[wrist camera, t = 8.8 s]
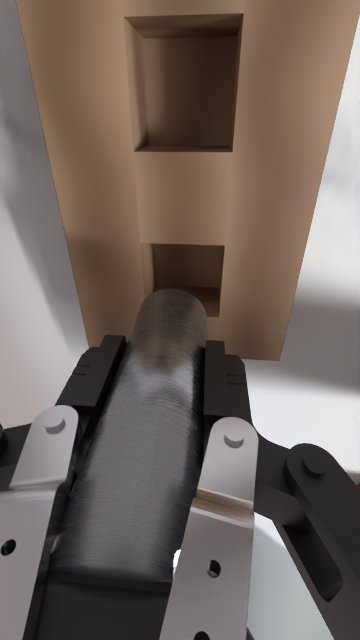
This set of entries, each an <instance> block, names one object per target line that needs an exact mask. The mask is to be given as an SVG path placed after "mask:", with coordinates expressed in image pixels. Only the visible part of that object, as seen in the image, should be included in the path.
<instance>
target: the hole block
mask: <svg viewBox="0 0 360 640" xmlns="http://www.w3.org/2000/svg"><path fill="white" fill-rule="evenodd" d="M16 4H17V9H18V14H19V18H20V23H21V28H22V33H23V37H24V42H25V47H26V52H27V56H28V61H29V66H30V70H31V75H32V80H33V85H34V89H35V94H36V99H37V104H38V108H39V113H40V118H41V123H42V127H43V132H44V137H45V141H46V146H47V151H48V156H49V160H50V165H51V170H52V175H53V179H54V184H55V189H56V194H57V198H58V203H59V208H60V212H61V217H62V222H63V227H64V231H65V236H66V241H67V246H68V250H69V255H70V260H71V264H72V269H73V274H74V279H75V283H76V288H77V293H78V298H79V302H80V307H81V312H82V317H83V321H84V326H85V331H86V335H87V340H88V345H89V349H90V348H91V347H100V345H101V342H102V340H103V338H104V336H105V335H124V336H125V337H126V341H127V342H128V339H129V336H130V334H131V331H132V328H133V325H134V323H135V320H136V317H137V315H138V312H139V309H140V307H141V304H142V303H143V301H144V300H145V299H146V298H147V297H148V296H149V295H150V294H152V293H154V292H156V291H158V290H162V289H179V290H183V291H186V292H188V293H190V294H192V295H193V296H195V297H196V298H197V299H198V300H199V301H200V302H201V303H202V305H203V306H204V308H205V311H206V315H207V340H216V341H224V342H225V354H231V355H238V356H239V358H240V359H256V360H272V361H279V360H280V356H281V352H282V347H283V343H284V339H285V334H286V330H287V326H288V321H289V317H290V313H291V308H292V304H293V300H294V295H295V291H296V287H297V282H298V278H299V274H300V269H301V265H302V261H303V257H304V252H305V248H306V244H307V239H308V235H309V231H310V226H311V222H312V218H313V213H314V209H315V205H316V200H317V196H318V192H319V187H320V183H321V179H322V174H323V170H324V166H325V161H326V157H327V153H328V148H329V144H330V140H331V136H332V131H333V127H334V123H335V118H336V114H337V110H338V105H339V101H340V97H341V92H342V88H343V84H344V79H345V75H346V71H347V66H348V62H349V58H350V53H351V49H352V45H353V40H354V36H355V32H356V28H357V23H358V19H359V15H360V0H16Z"/></svg>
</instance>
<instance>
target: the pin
mask: <svg viewBox="0 0 360 640" xmlns="http://www.w3.org/2000/svg"><path fill="white" fill-rule="evenodd" d="M206 340H207V315H206V311H205V308H204V306H203V305H202V303H201V302H200V301H199V300H198V299H197V298H196V297H195V296H193V295H192V294H190V293H188V292H186V291H183V290H179V289H162V290H158V291H156V292H154V293H152V294H150V295H149V296H148V297H147V298H146V299H145V300H144V301H143V303H142V304H141V307H140V309H139V312H138V315H137V317H136V320H135V323H134V325H133V328H132V331H131V334H130V336H129V339H128V342H127V344H126V347H125V350H124V352H123V355H122V358H121V361H120V363H119V366H118V369H117V371H116V374H115V377H114V379H113V382H112V385H111V388H110V390H109V393H108V396H107V398H106V401H105V404H104V406H103V409H102V412H101V415H100V417H99V420H98V423H97V425H96V428H95V431H94V433H93V436H92V439H91V442H90V444H89V447H88V450H87V452H86V455H85V458H84V461H83V463H82V466H81V469H80V471H79V474H78V477H77V479H76V482H75V485H74V488H73V490H72V493H71V496H70V499H69V502H68V505H67V508H66V511H65V514H64V518H63V521H62V525H61V529H60V532H59V535H58V536H57V538H56V539H55V541H54V544H53V547H52V551H51V554H53V555H52V557H51V560H50V563H49V566H48V570H47V571H49V572H58V573H67V574H76V575H85V576H94V577H104V578H113V579H122V580H131V581H140V582H149V583H158V584H167V585H172V584H173V580H174V575H175V571H176V567H177V563H178V559H179V554H180V550H181V546H182V542H183V538H184V533H185V529H186V525H187V521H188V517H189V513H190V508H191V505H192V501H193V498H194V496H195V495H196V492H197V488H198V484H199V480H200V475H201V471H202V467H203V462H204V432H203V405H204V370H205V342H206Z"/></svg>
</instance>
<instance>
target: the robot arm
mask: <svg viewBox="0 0 360 640" xmlns="http://www.w3.org/2000/svg"><path fill="white" fill-rule="evenodd" d="M126 344H127V341H126V337H125V336H124V335H105V336H104V338H103V340H102V342H101V345H100V347H91V348H90V349H88V350H87V351H86V352H85V353H84V354H82V356H81V358H80V359H79V361H78V363H77V366H76V367H75V369H74V371H73V372H72V375H71V376H70V378H69V380H68V382H67V384H66V386H65V387H64V389H63V391H62V393H61V395H60V397H59V399H58V400H57V403H56V404H55V406H53V407H50V408H48V409H46V410H44V411H43V412H41V413H40V414H39V415H38V416H37V417H36V418H35V419H34V421H33V422H32V423H31V424H26V425H22V426H17V427H12V428H7V429H3V427H2V425H1V424H0V640H254V638H253V636H252V634H251V633H250V631H249V629H248V627H247V615H248V603H249V588H250V576H251V562H252V548H253V535H254V512H256V513H258V514H260V515H262V516H264V517H267V518H269V519H271V520H272V521H273V523H274V525H275V527H276V529H277V531H278V533H279V534H280V536H281V538H282V540H283V542H284V544H285V546H286V548H287V550H288V552H289V554H290V556H291V557H292V559H293V561H294V563H295V565H296V567H297V569H298V571H299V573H300V575H301V577H302V579H303V580H304V582H305V584H306V586H307V588H308V590H309V592H310V594H311V596H312V598H313V600H314V601H315V603H316V605H317V607H318V609H319V611H320V613H321V615H322V617H323V619H324V621H325V623H326V625H327V626H328V628H329V630H330V632H331V634H332V636H333V638H334V640H360V490H359V488H358V487H357V486H356V485H355V483H354V482H353V481H352V480H351V478H350V477H349V476H348V475H347V473H346V472H345V471H344V470H343V468H342V467H341V466H340V465H339V463H338V462H337V461H336V460H335V458H334V457H333V456H332V455H331V454H330V453H328V452H327V451H326V450H324V449H323V448H321V447H319V446H316V445H313V444H307V443H302V444H298V445H295V446H294V447H292V448H291V449H288V448H285V447H282V446H280V445H277V444H274V443H272V442H270V441H268V440H266V439H265V438H264V437H262V436H261V435H260V434H259V433H258V432H257V430H256V429H255V427H254V426H253V423H252V419H251V411H250V404H249V396H248V388H247V381H246V373H245V365H244V363H243V362H242V360H241V359H240V358H239V356H238V355H231V354H225V342H224V341H216V340H206V342H205V370H204V405H203V432H204V462H203V467H202V471H201V475H200V480H199V484H198V488H197V492H196V495H195V496H194V498H193V501H192V505H191V508H190V513H189V517H188V521H187V525H186V529H185V533H184V538H183V542H182V546H181V550H180V554H179V559H178V563H177V567H176V571H175V575H174V580H173V584H172V585H167V584H158V583H149V582H140V581H131V580H122V579H113V578H104V577H94V576H85V575H76V574H67V573H58V572H49V571H47V570H48V566H49V563H50V560H51V557H52V555H53V554H51V551H52V547H53V544H54V541H55V539H56V538H57V536H58V535H59V532H60V529H61V525H62V521H63V518H64V514H65V511H66V508H67V505H68V502H69V499H70V496H71V493H72V490H73V488H74V485H75V482H76V479H77V477H78V474H79V471H80V469H81V466H82V463H83V461H84V458H85V455H86V452H87V450H88V447H89V444H90V442H91V439H92V436H93V433H94V431H95V428H96V425H97V423H98V420H99V417H100V415H101V412H102V409H103V406H104V404H105V401H106V398H107V396H108V393H109V390H110V388H111V385H112V382H113V379H114V377H115V374H116V371H117V369H118V366H119V363H120V361H121V358H122V355H123V352H124V350H125V347H126ZM253 511H254V512H253Z"/></svg>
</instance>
